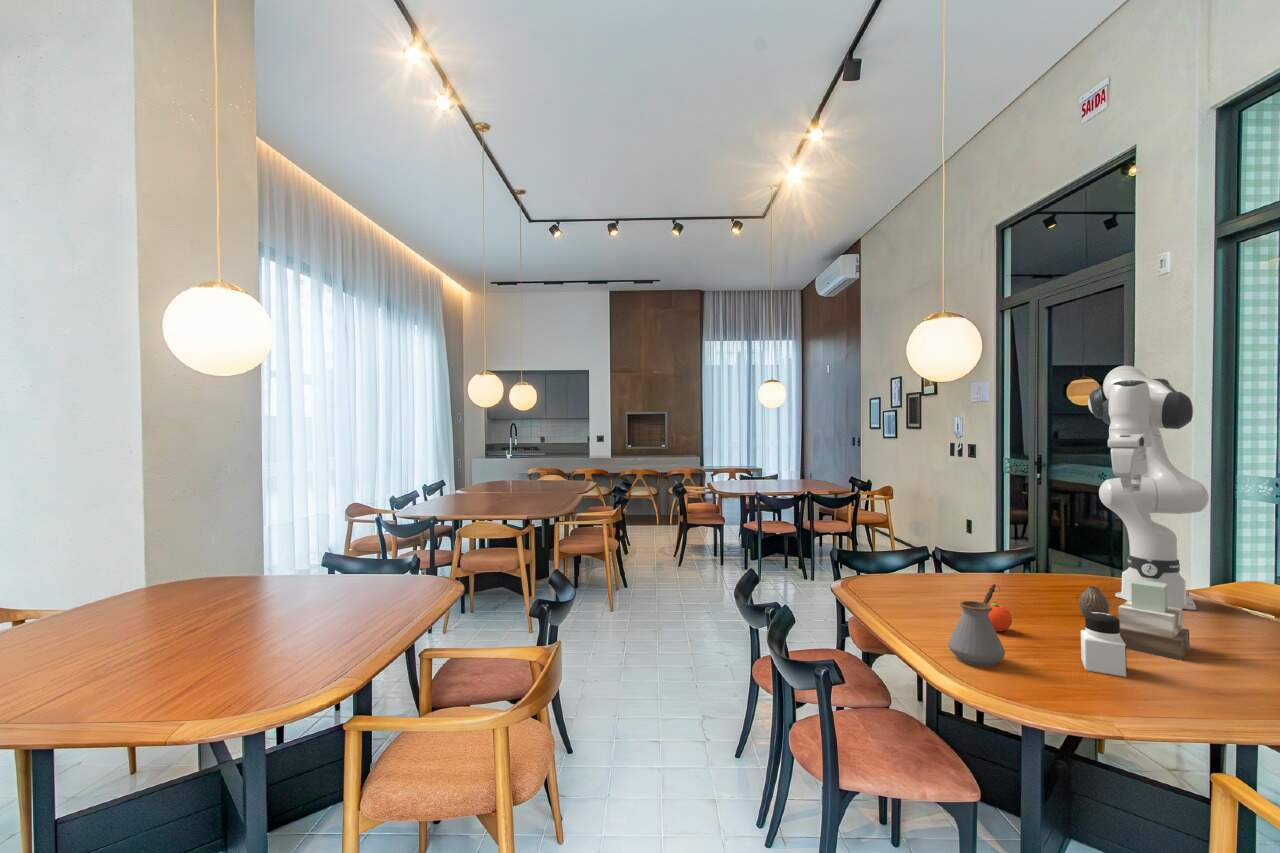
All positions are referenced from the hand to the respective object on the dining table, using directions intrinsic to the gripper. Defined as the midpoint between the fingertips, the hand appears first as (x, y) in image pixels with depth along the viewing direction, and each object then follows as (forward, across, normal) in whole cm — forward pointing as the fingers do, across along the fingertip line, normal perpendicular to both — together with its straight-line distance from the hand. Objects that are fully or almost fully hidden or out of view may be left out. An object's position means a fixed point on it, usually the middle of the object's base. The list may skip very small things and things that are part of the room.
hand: (1131, 492), depth 152 cm
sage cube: (+28, +12, +5) cm, 30 cm away
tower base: (+38, +12, +5) cm, 40 cm away
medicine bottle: (+37, +37, +1) cm, 53 cm away
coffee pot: (+37, +48, -19) cm, 64 cm away
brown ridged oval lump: (+37, -6, -10) cm, 39 cm away
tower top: (+33, +11, +5) cm, 35 cm away
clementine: (+37, +27, -24) cm, 52 cm away
